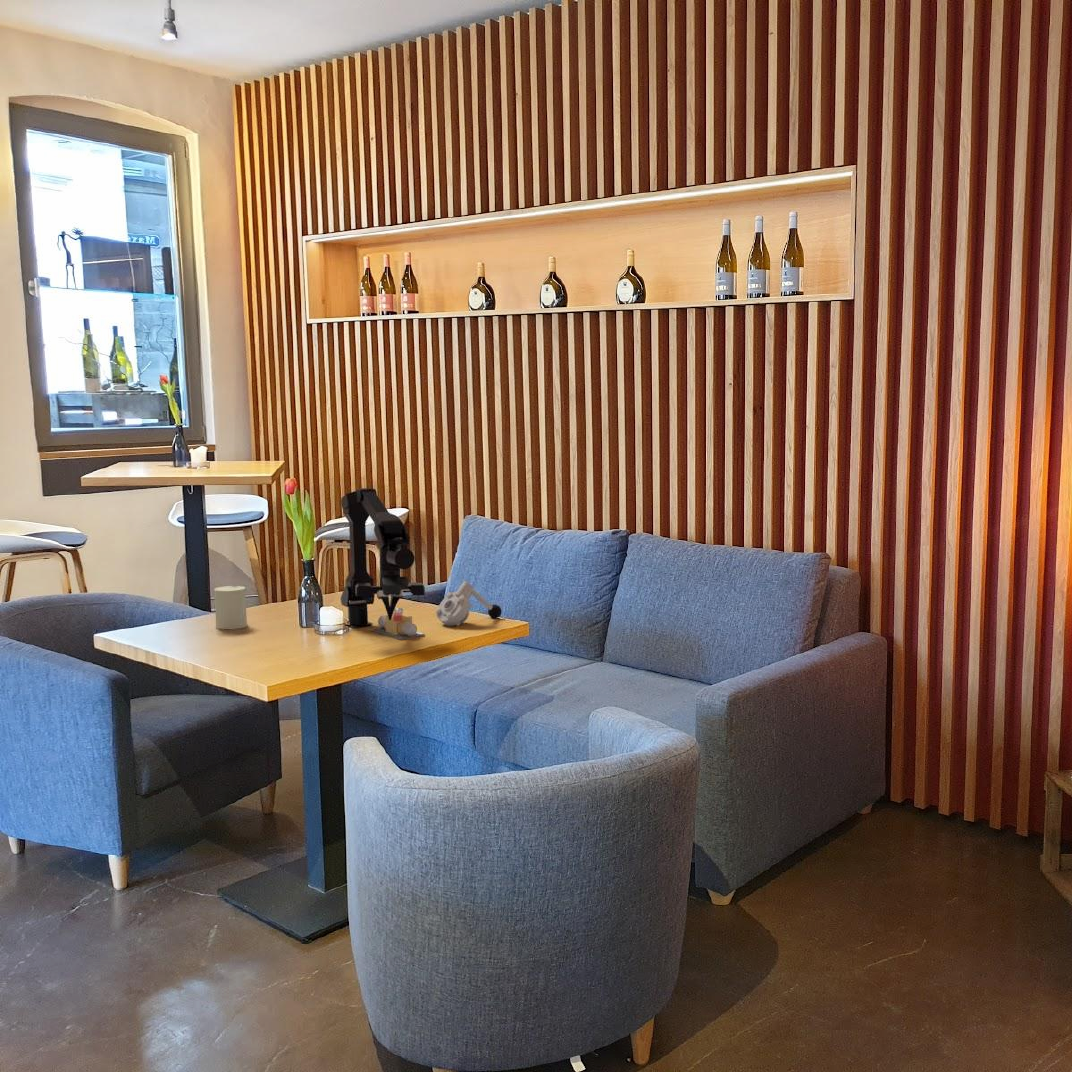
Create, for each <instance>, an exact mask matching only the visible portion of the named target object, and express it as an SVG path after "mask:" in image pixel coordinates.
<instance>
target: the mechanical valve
mask: <svg viewBox="0 0 1072 1072" xmlns="http://www.w3.org/2000/svg"><path fill="white" fill-rule="evenodd" d="M474 588H475V587H474V585H472V584H471V583H469V582H467V581H462V584H461V585H460V586H459V588H458V589H457V591H453V592H451V591H449V592H447V594H446V596H445V597H444V598H443V599H442V601H441V602H440V603H439V605H438V607H437V608H436V609H435V610H434V611H435V614H436V617H437V620H438V621H440V622H441V623H442V624H443V625H445V626H447V627H454V626H455V627H459V626H460V625H462V624H463V623H464V622H466V621H467V620H468V617H469V615H470V612H469V611H470V609H472V607H473V605H472V604H471V603H470V601H471V600H470V597H471V596H473V597H474V598H475V599H476V600H477V601H479V602H480V603H481V604H482V605H483V606H485V608H487V614H488V615H489V617H490V618H491V619H498V618H499V617H500V616H501V615H502V613H503V612H502V608H501V607H500V605H498V604H491V603H489V602H488V601H487V600H486V599H485V598H484V597H483V596H482V595H481V594H479V592H477V591H476V590H475V589H474Z"/></svg>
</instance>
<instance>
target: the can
mask: <svg viewBox="0 0 1072 1072" xmlns="http://www.w3.org/2000/svg"><path fill="white" fill-rule="evenodd" d="M213 591H214V592H213V593H214V607H215V609H214V610H215V628H216V629H218V630H224V629H230V630H239V629H243V628H247V627H248V619H247V618H248V617H247V600H246V599H247V597H246V596H247V595H246V594H247V593H246V587H245V586H242V585H227V586H224V585H223V586H219V587H215V588H214V589H213Z"/></svg>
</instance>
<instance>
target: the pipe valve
mask: <svg viewBox="0 0 1072 1072" xmlns="http://www.w3.org/2000/svg"><path fill="white" fill-rule="evenodd" d="M393 615H394V613H393ZM393 615H392V618H391V620H389V618H388V614H383V615H380V616H379V617H378V620H377V625H378V626H379V627H375V628H374V627H373V628H370V631H371V632H374V633H377V634H381V635H383V636H386V637H389V638H392V639H396V640H399V641H403V640H409V639H410V640H411V639H416V638H422V637H426V634H425V633H422V632H418V628H417V625H416V624H415V623H413V616H412V615H410V614H407V613H404V612H402V617H403V619H402V621H394V620H393Z"/></svg>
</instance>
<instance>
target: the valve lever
mask: <svg viewBox="0 0 1072 1072" xmlns="http://www.w3.org/2000/svg"><path fill="white" fill-rule="evenodd" d="M402 613H404V608H402V607H397V608H396V607H395V609H394V612H393V614H394V615H393V620H394V621H402V619H403V617H402Z"/></svg>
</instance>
